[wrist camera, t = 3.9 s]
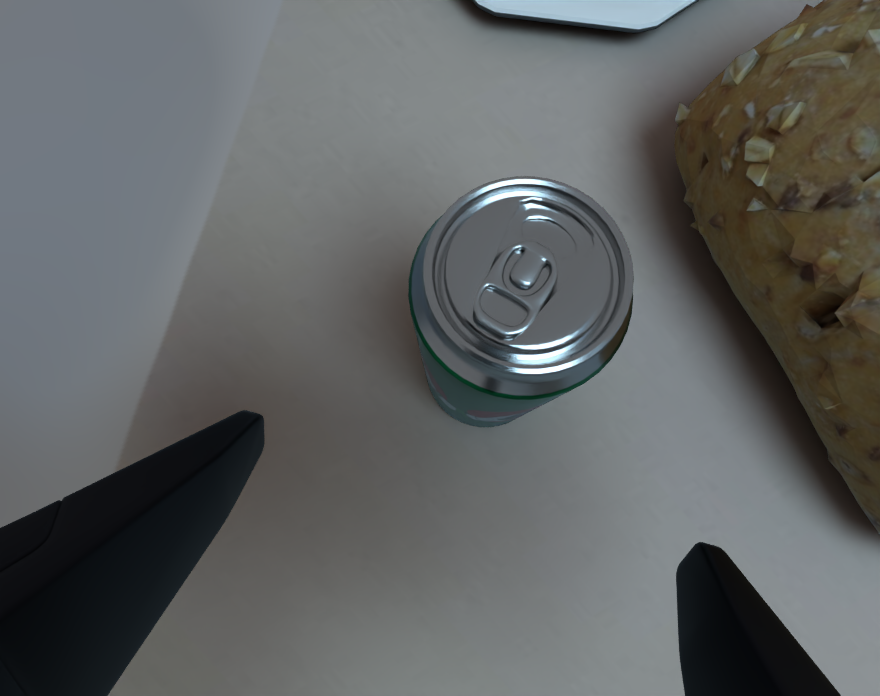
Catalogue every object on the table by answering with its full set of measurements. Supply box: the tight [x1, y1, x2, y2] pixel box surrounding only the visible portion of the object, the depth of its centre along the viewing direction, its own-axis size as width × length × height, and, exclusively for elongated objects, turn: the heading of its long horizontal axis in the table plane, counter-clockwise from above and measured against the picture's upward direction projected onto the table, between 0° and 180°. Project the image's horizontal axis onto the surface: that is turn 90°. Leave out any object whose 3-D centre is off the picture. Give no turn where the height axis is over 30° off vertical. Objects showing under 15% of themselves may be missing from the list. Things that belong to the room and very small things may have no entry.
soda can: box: [408, 176, 634, 427], centre depth 16 cm, size 5×5×12 cm
